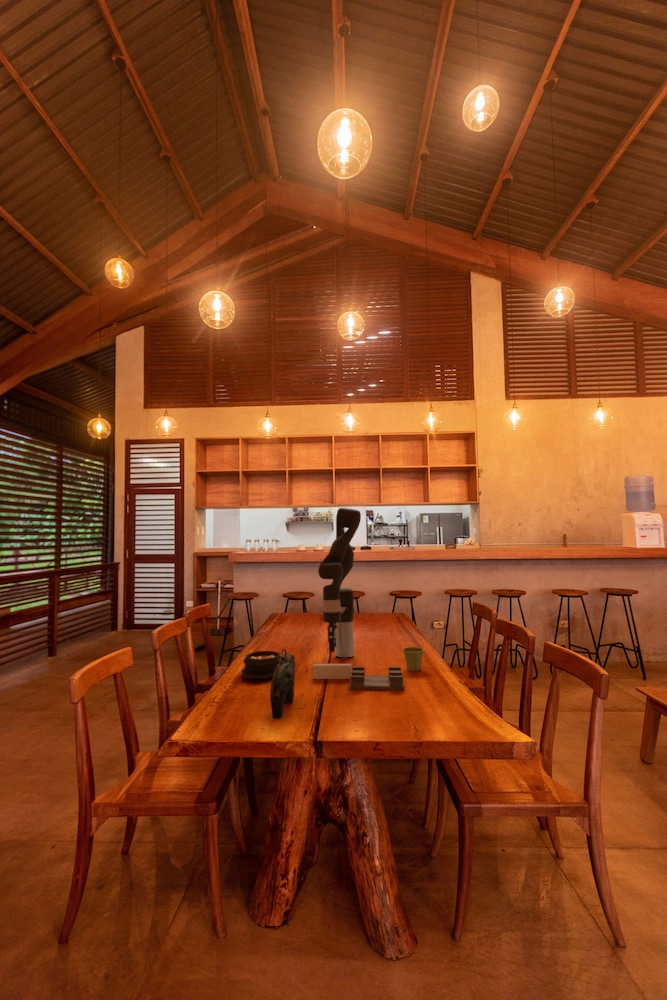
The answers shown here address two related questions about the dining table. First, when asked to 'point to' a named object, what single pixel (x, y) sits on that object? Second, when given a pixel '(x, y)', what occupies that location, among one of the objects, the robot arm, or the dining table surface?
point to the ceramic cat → (282, 684)
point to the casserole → (260, 664)
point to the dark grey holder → (376, 680)
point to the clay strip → (332, 671)
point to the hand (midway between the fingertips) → (332, 649)
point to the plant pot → (413, 658)
